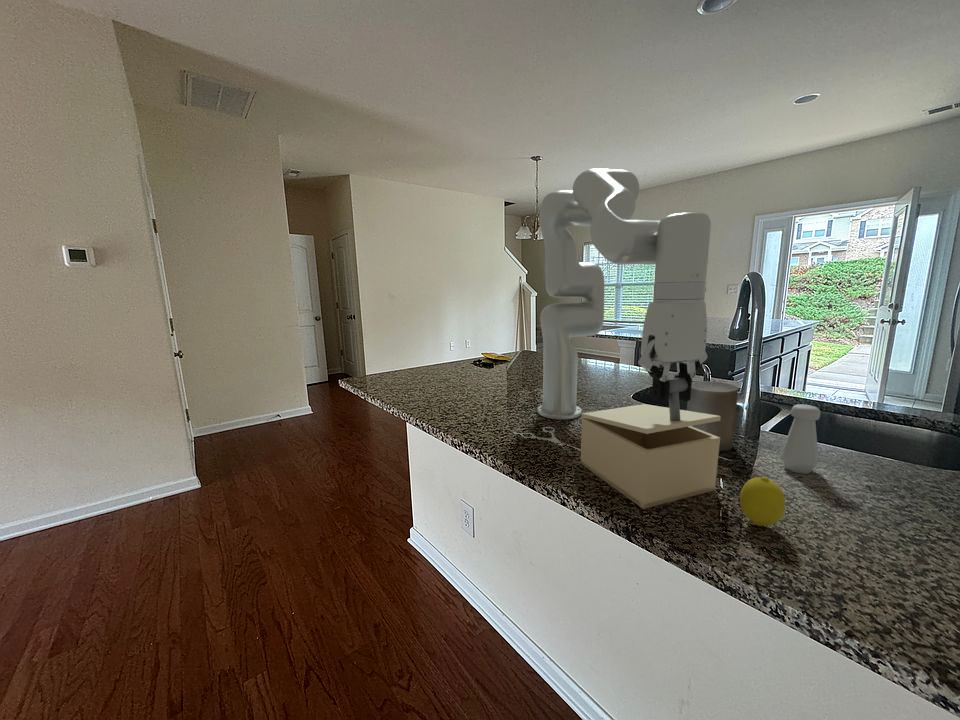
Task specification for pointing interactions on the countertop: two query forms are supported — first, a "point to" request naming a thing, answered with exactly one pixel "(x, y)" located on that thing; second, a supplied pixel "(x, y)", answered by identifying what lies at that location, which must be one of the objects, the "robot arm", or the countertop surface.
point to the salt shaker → (802, 440)
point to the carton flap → (654, 414)
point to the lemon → (762, 501)
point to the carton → (651, 461)
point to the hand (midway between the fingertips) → (670, 399)
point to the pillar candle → (716, 409)
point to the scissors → (546, 438)
